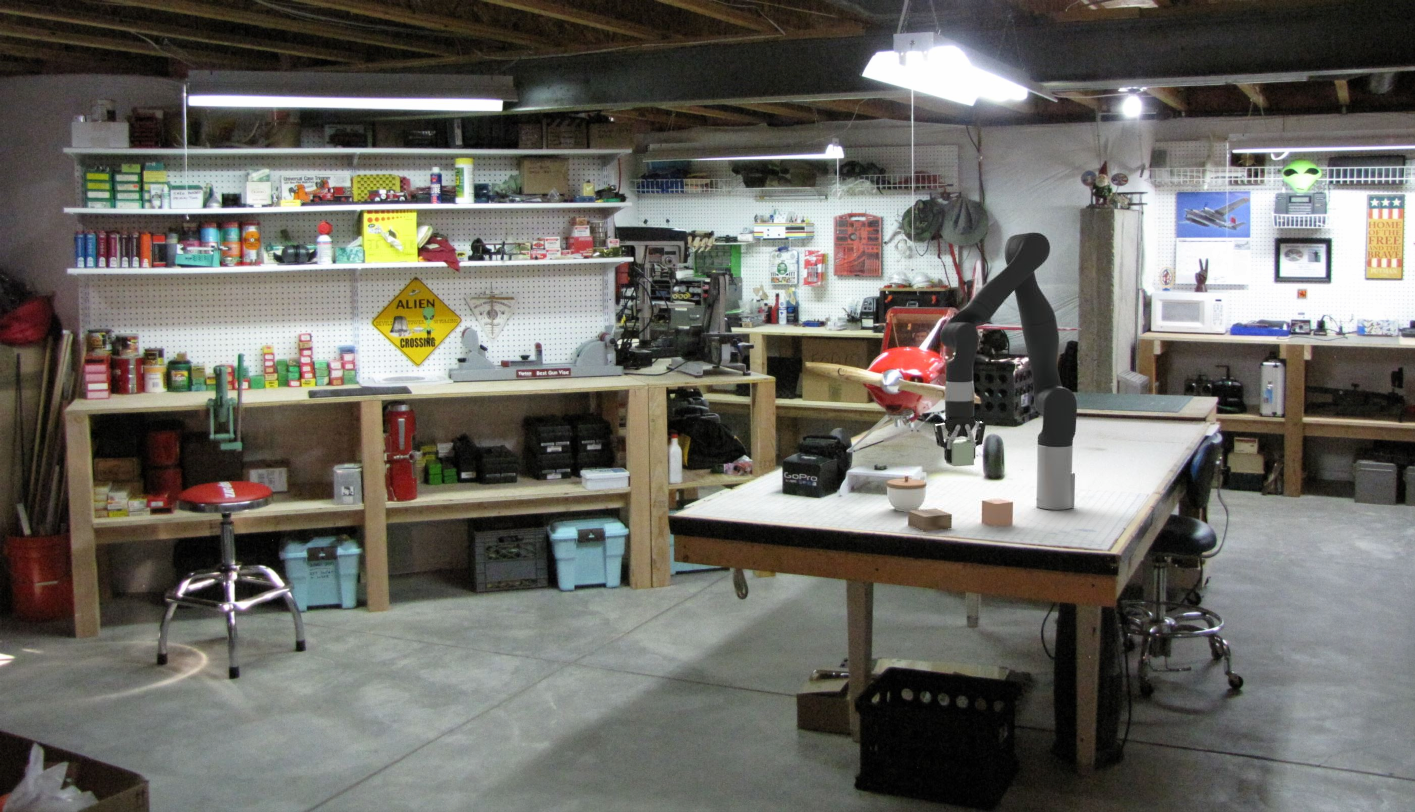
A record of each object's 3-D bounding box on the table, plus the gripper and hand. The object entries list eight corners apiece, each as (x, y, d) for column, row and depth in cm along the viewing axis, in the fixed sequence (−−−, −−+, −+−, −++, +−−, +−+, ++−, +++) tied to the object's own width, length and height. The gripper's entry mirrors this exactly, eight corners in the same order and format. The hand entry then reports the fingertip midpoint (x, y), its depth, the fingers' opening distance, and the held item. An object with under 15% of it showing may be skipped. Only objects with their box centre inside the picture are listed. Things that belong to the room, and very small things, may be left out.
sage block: (965, 462, 327) (965, 439, 326) (973, 465, 321) (973, 442, 321) (946, 463, 326) (945, 440, 325) (954, 466, 320) (954, 443, 320)
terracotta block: (998, 521, 319) (998, 498, 319) (1012, 524, 315) (1012, 501, 314) (981, 523, 317) (982, 500, 316) (995, 527, 312) (995, 504, 311)
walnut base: (935, 523, 318) (935, 508, 318) (951, 529, 311) (951, 514, 310) (908, 526, 316) (908, 510, 315) (923, 532, 308) (923, 516, 308)
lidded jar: (879, 507, 338) (879, 474, 337) (913, 504, 342) (913, 471, 341) (898, 515, 328) (898, 480, 327) (933, 511, 332) (933, 477, 331)
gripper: (979, 395, 327) (979, 458, 329) (928, 398, 324) (928, 461, 326) (991, 398, 319) (991, 462, 321) (939, 401, 316) (939, 466, 318)
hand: (959, 461), depth 323 cm, fingers closed on sage block, 5 cm apart
